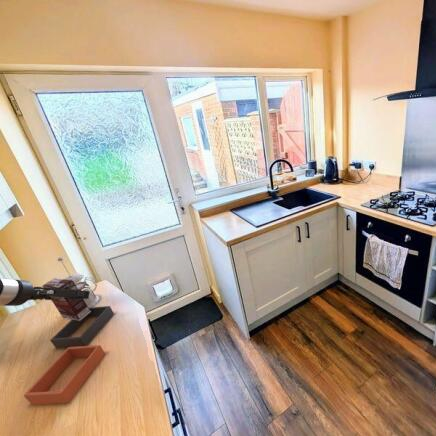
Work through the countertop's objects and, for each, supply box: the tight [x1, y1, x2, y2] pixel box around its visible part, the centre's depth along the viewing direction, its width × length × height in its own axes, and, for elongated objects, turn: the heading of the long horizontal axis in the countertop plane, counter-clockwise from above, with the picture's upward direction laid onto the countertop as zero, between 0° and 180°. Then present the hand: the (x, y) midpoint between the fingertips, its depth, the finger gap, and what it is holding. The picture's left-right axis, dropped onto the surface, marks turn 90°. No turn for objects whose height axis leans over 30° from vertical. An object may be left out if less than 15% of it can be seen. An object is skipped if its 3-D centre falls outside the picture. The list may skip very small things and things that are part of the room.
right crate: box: [49, 305, 115, 350], centre depth 96 cm, size 12×16×4 cm
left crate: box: [23, 344, 106, 406], centre depth 78 cm, size 12×16×4 cm
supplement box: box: [41, 277, 91, 321], centre depth 90 cm, size 9×5×16 cm, turn 76°
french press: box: [56, 256, 100, 308], centre depth 107 cm, size 10×12×25 cm
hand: (75, 295), depth 94 cm, fingers closed on supplement box, 9 cm apart
